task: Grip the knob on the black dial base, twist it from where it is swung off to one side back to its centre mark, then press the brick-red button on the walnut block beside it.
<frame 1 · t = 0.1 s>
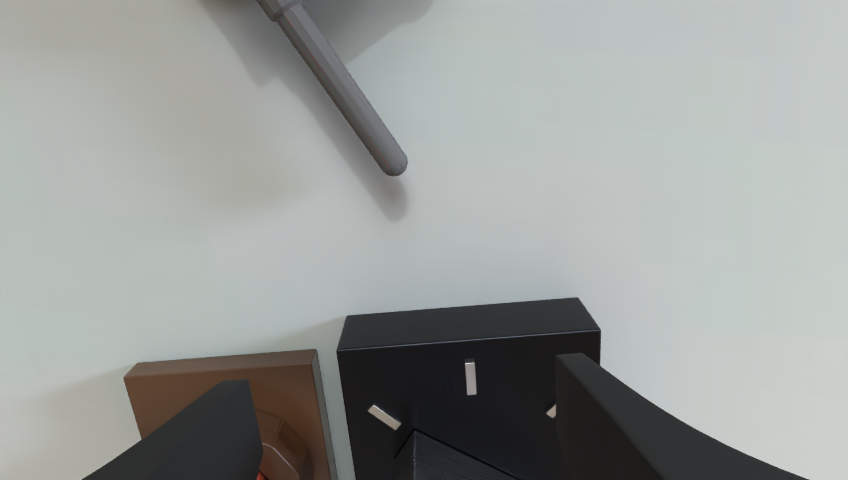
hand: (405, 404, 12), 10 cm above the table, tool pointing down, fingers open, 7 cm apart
dial base: (470, 432, 25), on the table
button block: (247, 448, 25), on the table
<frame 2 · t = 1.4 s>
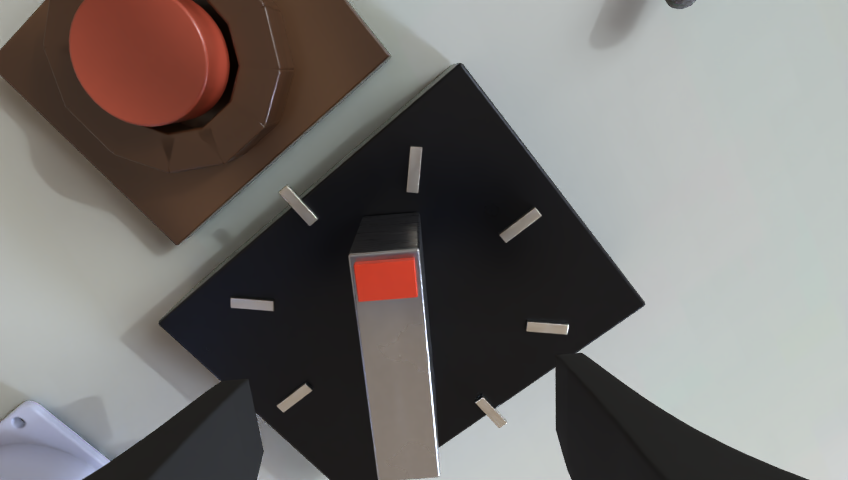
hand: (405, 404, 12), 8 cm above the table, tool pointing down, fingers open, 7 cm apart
dial base: (403, 280, 20), on the table
button: (154, 57, 14), point 3 cm above the table, slide at 0.1 cm
button block: (203, 60, 18), on the table
knob: (399, 343, 16), point 5 cm above the table, hinge at 55.0°
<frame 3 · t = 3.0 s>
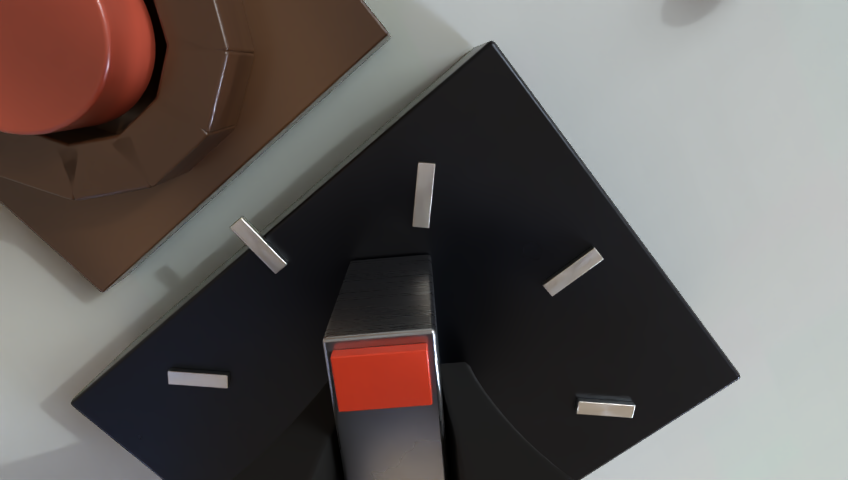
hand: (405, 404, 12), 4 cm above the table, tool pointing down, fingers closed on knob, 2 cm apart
dial base: (407, 332, 16), on the table
button: (36, 31, 10), point 3 cm above the table, slide at 0.1 cm
button block: (134, 41, 13), on the table
knob: (402, 446, 11), point 5 cm above the table, hinge at 55.0°, touching gripper
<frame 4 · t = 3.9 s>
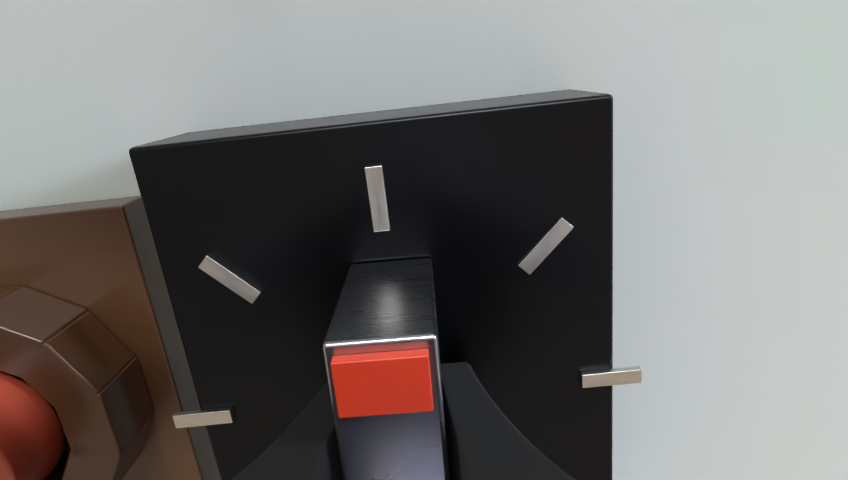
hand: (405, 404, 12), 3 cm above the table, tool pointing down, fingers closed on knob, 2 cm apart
dial base: (407, 335, 15), on the table
button block: (60, 371, 16), on the table
knob: (403, 452, 11), point 5 cm above the table, hinge at -1.5°, touching gripper
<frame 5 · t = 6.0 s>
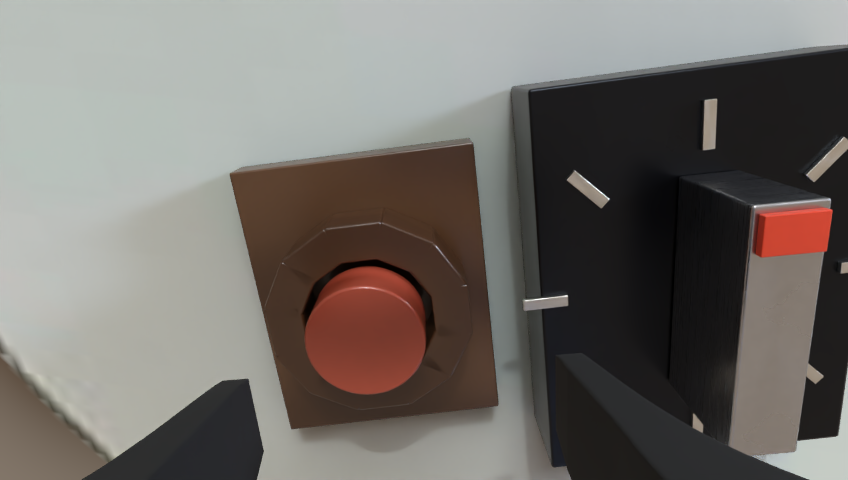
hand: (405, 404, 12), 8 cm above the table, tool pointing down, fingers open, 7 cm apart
dial base: (659, 251, 19), on the table
button: (367, 329, 16), point 3 cm above the table, slide at 0.1 cm
button block: (376, 285, 20), on the table
knob: (737, 309, 15), point 5 cm above the table, hinge at -1.5°
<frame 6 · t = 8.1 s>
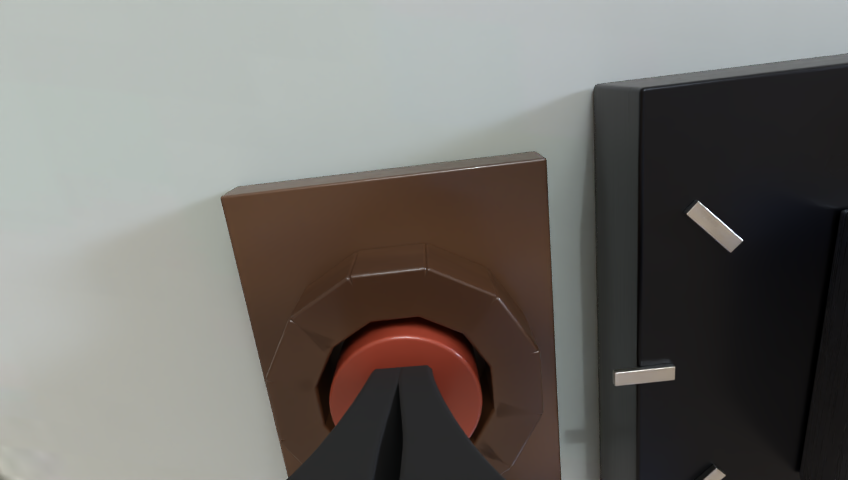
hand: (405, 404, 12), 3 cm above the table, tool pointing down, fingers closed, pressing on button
dial base: (771, 297, 15), on the table
button: (406, 384, 13), point 2 cm above the table, slide at -1.0 cm, touching gripper
button block: (408, 337, 15), on the table
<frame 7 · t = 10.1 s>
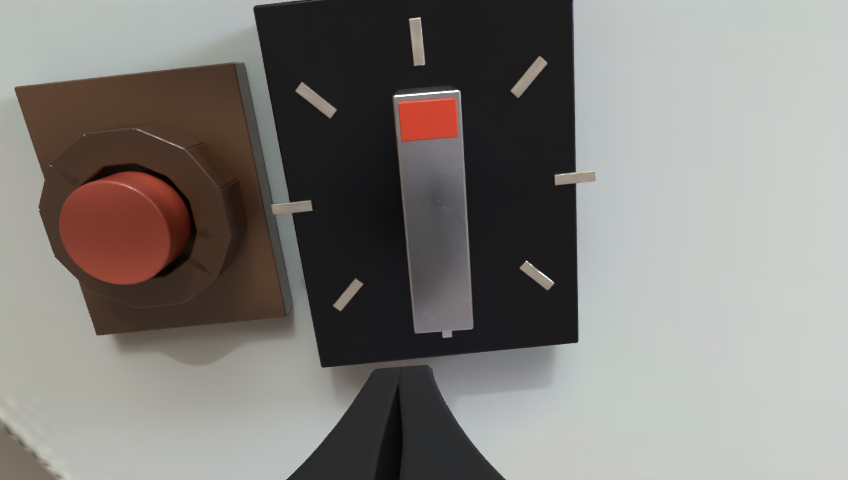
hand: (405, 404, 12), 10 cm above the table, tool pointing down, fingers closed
dial base: (430, 175, 21), on the table
button: (128, 227, 18), point 3 cm above the table, slide at 0.1 cm
button block: (173, 202, 21), on the table
knob: (434, 206, 16), point 5 cm above the table, hinge at -1.5°
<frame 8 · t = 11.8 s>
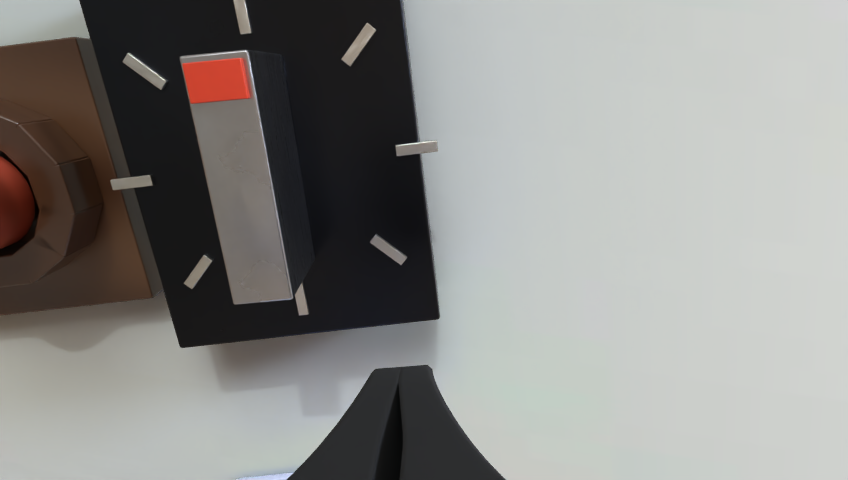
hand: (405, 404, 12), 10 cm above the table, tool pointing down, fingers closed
dial base: (294, 152, 21), on the table
button block: (35, 183, 21), on the table
knob: (257, 175, 16), point 5 cm above the table, hinge at -1.5°
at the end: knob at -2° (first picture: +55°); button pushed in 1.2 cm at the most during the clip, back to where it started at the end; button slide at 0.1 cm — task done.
